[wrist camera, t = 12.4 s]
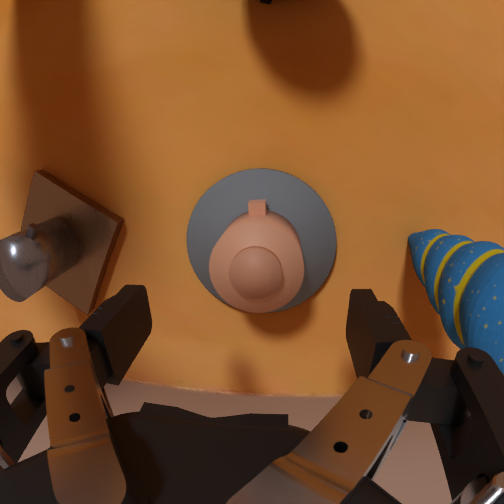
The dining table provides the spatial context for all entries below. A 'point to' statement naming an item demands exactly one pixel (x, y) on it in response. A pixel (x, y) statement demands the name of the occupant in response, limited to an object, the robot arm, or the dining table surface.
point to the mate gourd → (266, 1)
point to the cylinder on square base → (58, 245)
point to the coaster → (277, 200)
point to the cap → (257, 261)
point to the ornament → (464, 287)
